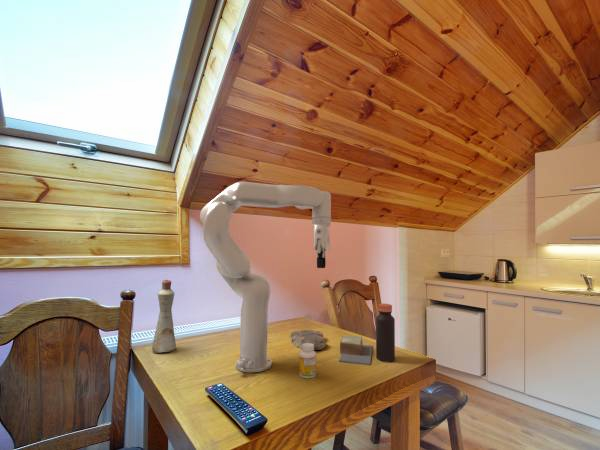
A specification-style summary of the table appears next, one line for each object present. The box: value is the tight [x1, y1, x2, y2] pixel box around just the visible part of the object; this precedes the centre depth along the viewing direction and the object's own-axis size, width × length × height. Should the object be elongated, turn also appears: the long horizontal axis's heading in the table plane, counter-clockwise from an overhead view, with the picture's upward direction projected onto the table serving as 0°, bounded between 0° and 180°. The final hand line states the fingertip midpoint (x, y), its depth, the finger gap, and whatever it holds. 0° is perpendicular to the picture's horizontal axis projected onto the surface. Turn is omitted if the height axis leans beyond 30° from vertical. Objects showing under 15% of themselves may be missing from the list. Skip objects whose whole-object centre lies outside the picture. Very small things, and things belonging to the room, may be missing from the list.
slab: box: [339, 334, 363, 355], centre depth 124 cm, size 4×8×10 cm
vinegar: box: [375, 303, 396, 363], centre depth 117 cm, size 7×7×20 cm
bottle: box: [151, 278, 177, 354], centre depth 124 cm, size 9×9×28 cm
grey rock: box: [289, 329, 327, 351], centre depth 132 cm, size 14×5×20 cm
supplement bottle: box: [298, 343, 317, 379], centre depth 102 cm, size 5×5×10 cm
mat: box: [339, 344, 373, 366], centre depth 122 cm, size 20×11×1 cm, turn 165°
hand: (321, 267), depth 125 cm, fingers closed
